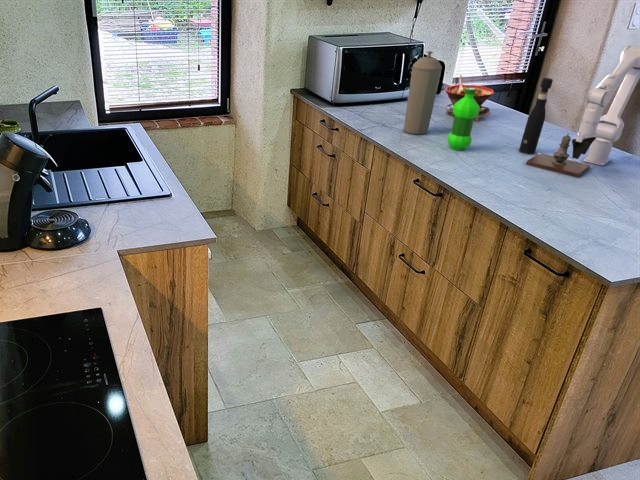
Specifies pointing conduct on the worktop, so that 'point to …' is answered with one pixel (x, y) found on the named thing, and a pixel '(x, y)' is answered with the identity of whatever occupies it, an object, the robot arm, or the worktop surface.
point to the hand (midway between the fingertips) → (578, 156)
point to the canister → (422, 94)
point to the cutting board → (568, 169)
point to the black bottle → (535, 120)
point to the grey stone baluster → (562, 151)
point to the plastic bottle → (463, 120)
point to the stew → (480, 97)
